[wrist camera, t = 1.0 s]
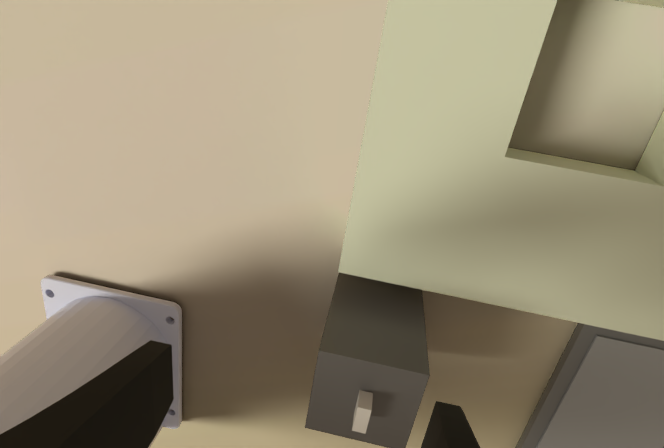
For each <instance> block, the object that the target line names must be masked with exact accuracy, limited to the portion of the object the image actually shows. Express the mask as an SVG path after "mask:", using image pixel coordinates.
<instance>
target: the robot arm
mask: <svg viewBox="0 0 664 448" xmlns="http://www.w3.org/2000/svg"><path fill="white" fill-rule="evenodd" d="M41 288H42V293H43V299H44V305H45V311H46V317H47V320H46V321H44V322H43V323H42V324H41V325H39V326H38V327H37V328H36V329H34V330H33V331H32V332H31V333H29V334H28V335H27V336H25V337H24V338H23V339H22V340H20V341H19V342H18V343H17V344H15V345H14V346H13V347H11V348H10V349H9V350H8V351H6V352H5V353H4V354H3V355H1V356H0V448H150V447H151V445H152V443H153V442H154V440H155V438H156V437H157V435H158V434H159V432H160V430H161V429H162V427H167V428H171V429H176V428H178V427H179V426H180V424H181V422H182V309H181V307H180V306H179V305H178V304H177V303H175V302H171V301H167V300H162V299H158V298H153V297H149V296H144V295H140V294H135V293H131V292H126V291H122V290H117V289H113V288H108V287H104V286H99V285H95V284H90V283H86V282H81V281H77V280H72V279H68V278H63V277H59V276H54V275H48V276H46V277H44V278H43V279H42V280H41ZM52 291H53V292H52ZM170 317H172V318H173V319H174V320H172V319H171V318H170ZM421 448H480V446H479V444H478V442H477V440H476V438H475V436H474V434H473V432H472V429H471V427H470V425H469V423H468V421H467V419H466V416H465V414H464V412H463V410H462V409H461V407H460V406H456V405H451V404H447V403H442V402H437V401H436V403H435V406H434V409H433V412H432V415H431V418H430V422H429V425H428V428H427V431H426V434H425V437H424V440H423V443H422V446H421Z"/></svg>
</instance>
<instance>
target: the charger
mask: <svg viewBox="0 0 664 448" xmlns="http://www.w3.org/2000/svg"><path fill="white" fill-rule="evenodd" d="M429 376H430V375H429V364H428V352H427V341H426V330H425V319H424V308H423V297H422V290H420V289H416V288H411V287H406V286H402V285H397V284H392V283H387V282H383V281H378V280H373V279H368V278H364V277H359V276H354V275H349V274H345V273H340V272H339V275H338V279H337V283H336V287H335V291H334V294H333V298H332V302H331V306H330V310H329V314H328V317H327V321H326V325H325V329H324V333H323V336H322V340H321V344H320V348H319V352H318V358H317V364H316V369H315V375H314V380H313V386H312V391H311V397H310V403H309V408H308V414H307V419H306V425H305V428H309V429H313V430H317V431H321V432H325V433H330V434H334V435H338V436H342V437H346V438H350V439H355V440H359V441H363V442H367V443H371V444H375V445H380V446H384V447H388V448H406V445H407V442H408V439H409V436H410V433H411V430H412V427H413V424H414V421H415V418H416V415H417V412H418V409H419V406H420V403H421V400H422V397H423V394H424V391H425V388H426V385H427V382H428V379H429Z"/></svg>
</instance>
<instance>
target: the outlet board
mask: <svg viewBox="0 0 664 448" xmlns="http://www.w3.org/2000/svg"><path fill="white" fill-rule="evenodd" d="M617 1H624V2H630V3H637V4H643V5H650V6H656V7H663V8H664V0H617ZM556 3H557V0H388V4H387V9H386V15H385V20H384V25H383V31H382V36H381V42H380V47H379V52H378V58H377V63H376V69H375V74H374V80H373V85H372V90H371V96H370V101H369V107H368V112H367V117H366V123H365V128H364V134H363V139H362V144H361V150H360V155H359V161H358V166H357V171H356V177H355V182H354V188H353V193H352V199H351V204H350V209H349V215H348V220H347V226H346V231H345V236H344V242H343V247H342V253H341V258H340V263H339V269H338V272H340V273H345V274H349V275H354V276H359V277H364V278H368V279H373V280H378V281H383V282H387V283H392V284H397V285H402V286H406V287H411V288H416V289H420V290H425V291H430V292H435V293H439V294H444V295H449V296H454V297H458V298H463V299H468V300H473V301H477V302H482V303H487V304H492V305H496V306H501V307H506V308H511V309H515V310H520V311H525V312H530V313H534V314H539V315H544V316H548V317H553V318H558V319H563V320H567V321H572V322H577V323H582V324H586V325H591V326H596V327H601V328H605V329H610V330H615V331H620V332H624V333H629V334H634V335H639V336H643V337H648V338H653V339H658V340H662V341H664V111H663V113H662V115H661V117H660V119H659V122H658V124H657V126H656V128H655V130H654V132H653V134H652V136H651V138H650V140H649V142H648V145H647V147H646V149H645V151H644V153H643V155H642V157H641V159H640V161H639V163H638V165H637V167H636V170H635V171H634V170H629V169H623V168H618V167H612V166H607V165H601V164H596V163H590V162H585V161H580V160H574V159H569V158H563V157H558V156H552V155H547V154H541V153H536V152H530V151H525V150H520V149H514V148H509V147H508V145H509V142H510V139H511V136H512V133H513V130H514V128H515V125H516V122H517V119H518V116H519V113H520V110H521V107H522V104H523V101H524V98H525V95H526V92H527V89H528V86H529V83H530V80H531V77H532V74H533V71H534V68H535V65H536V62H537V59H538V56H539V53H540V50H541V47H542V44H543V41H544V38H545V35H546V32H547V29H548V26H549V24H550V21H551V18H552V15H553V12H554V9H555V6H556Z"/></svg>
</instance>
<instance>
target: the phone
mask: <svg viewBox="0 0 664 448" xmlns="http://www.w3.org/2000/svg"><path fill="white" fill-rule="evenodd" d="M516 448H664V341H662V340H658V339H653V338H648V337H643V336H639V335H634V334H629V333H624V332H620V331H615V330H610V329H605V328H601V327H596V326H591V325H586V324H582V323H578V325H577V327H576V328H575V330H574V332H573V334H572V336H571V338H570V340H569V342H568V344H567V346H566V348H565V350H564V352H563V354H562V356H561V358H560V360H559V362H558V364H557V366H556V368H555V370H554V372H553V374H552V376H551V378H550V380H549V382H548V384H547V386H546V388H545V390H544V392H543V394H542V396H541V398H540V400H539V402H538V404H537V406H536V408H535V410H534V412H533V414H532V416H531V418H530V420H529V422H528V424H527V426H526V428H525V430H524V432H523V434H522V436H521V438H520V440H519V442H518V444H517V446H516Z"/></svg>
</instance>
